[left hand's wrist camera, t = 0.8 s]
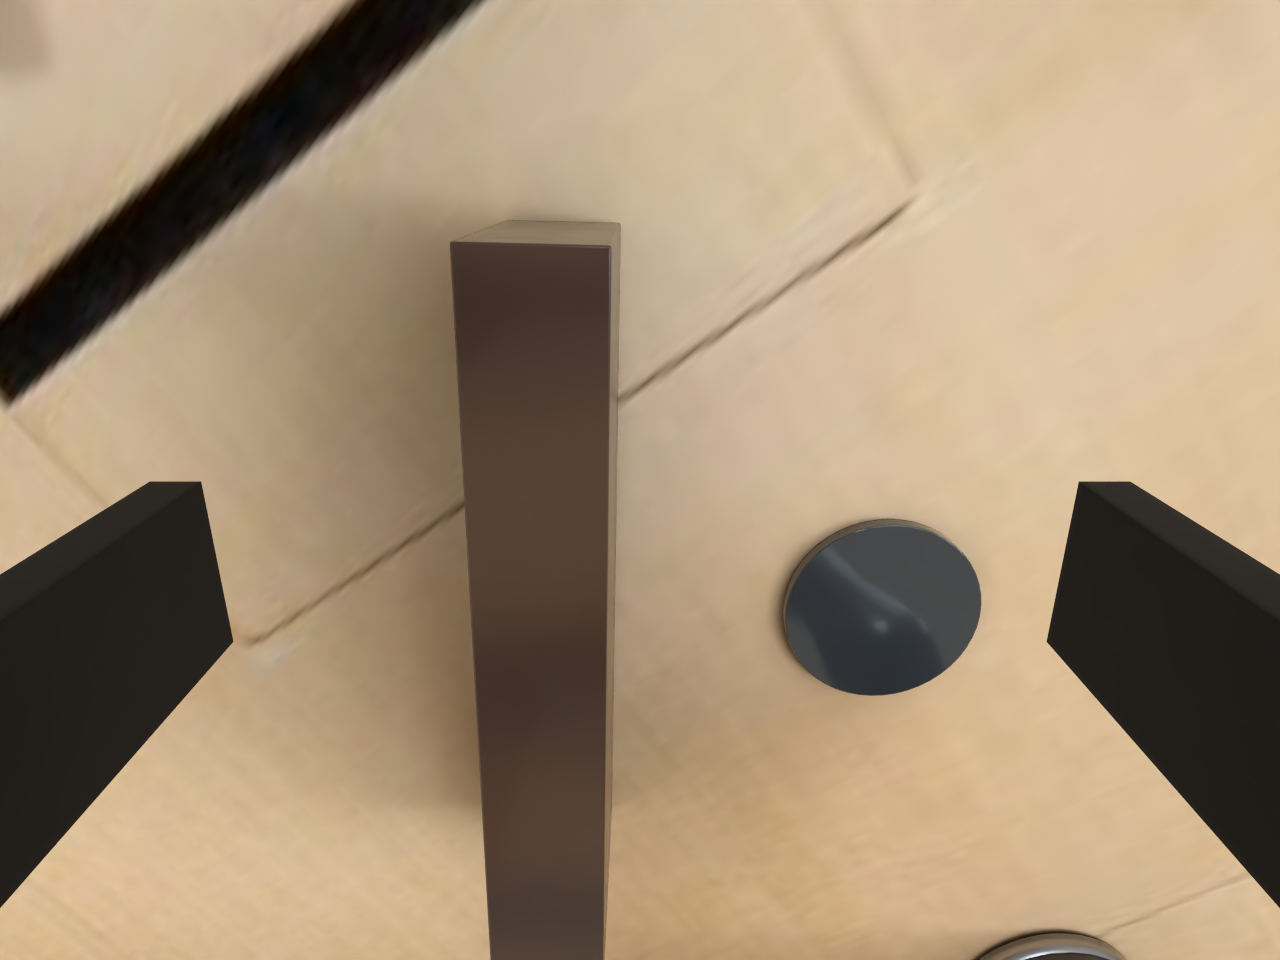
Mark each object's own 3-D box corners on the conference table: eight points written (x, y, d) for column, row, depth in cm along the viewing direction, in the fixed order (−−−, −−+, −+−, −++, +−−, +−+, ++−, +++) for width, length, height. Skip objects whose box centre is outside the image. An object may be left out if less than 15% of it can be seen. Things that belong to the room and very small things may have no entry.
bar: (506, 219, 28) (448, 241, 20) (620, 222, 28) (611, 245, 20) (525, 807, 38) (491, 991, 29) (611, 809, 38) (602, 993, 29)
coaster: (791, 516, 32) (794, 522, 32) (992, 521, 32) (998, 527, 32) (775, 685, 35) (777, 693, 35) (959, 689, 35) (963, 698, 35)
